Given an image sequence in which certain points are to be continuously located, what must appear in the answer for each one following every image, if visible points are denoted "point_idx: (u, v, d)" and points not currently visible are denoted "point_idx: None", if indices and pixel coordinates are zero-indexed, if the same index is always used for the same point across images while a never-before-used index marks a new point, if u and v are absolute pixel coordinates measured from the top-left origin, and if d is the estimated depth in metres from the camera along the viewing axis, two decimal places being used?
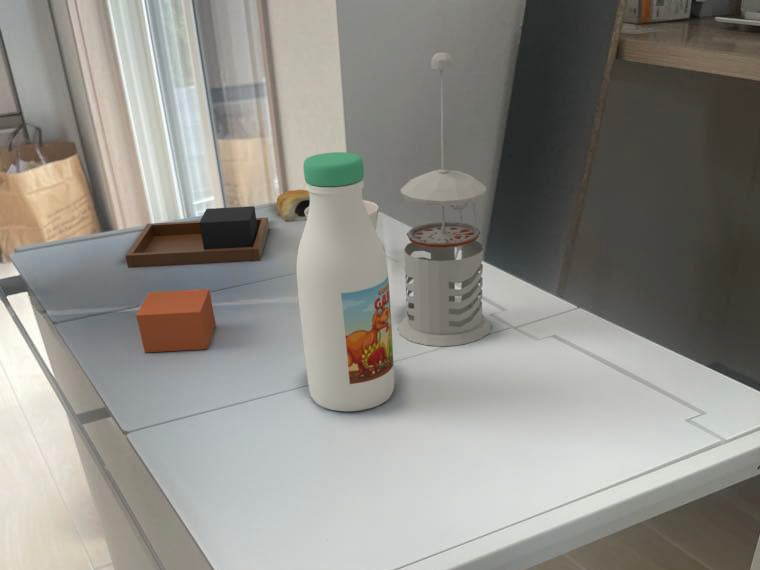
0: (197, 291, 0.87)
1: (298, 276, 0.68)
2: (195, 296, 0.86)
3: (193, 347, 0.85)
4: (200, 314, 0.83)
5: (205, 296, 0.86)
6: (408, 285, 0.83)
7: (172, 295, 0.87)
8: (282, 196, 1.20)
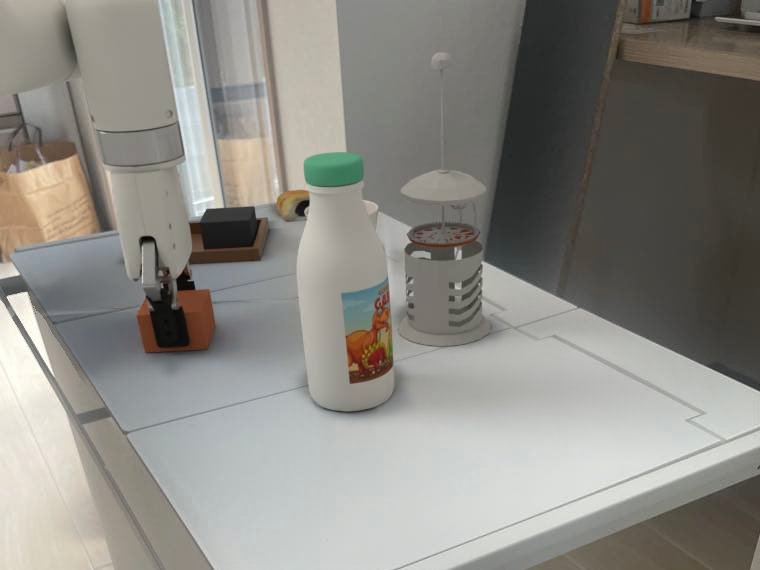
0: (197, 291, 0.87)
1: (298, 276, 0.68)
2: (195, 296, 0.86)
3: (193, 347, 0.85)
4: (200, 314, 0.83)
5: (205, 296, 0.86)
6: (408, 285, 0.83)
7: None
8: (282, 196, 1.20)
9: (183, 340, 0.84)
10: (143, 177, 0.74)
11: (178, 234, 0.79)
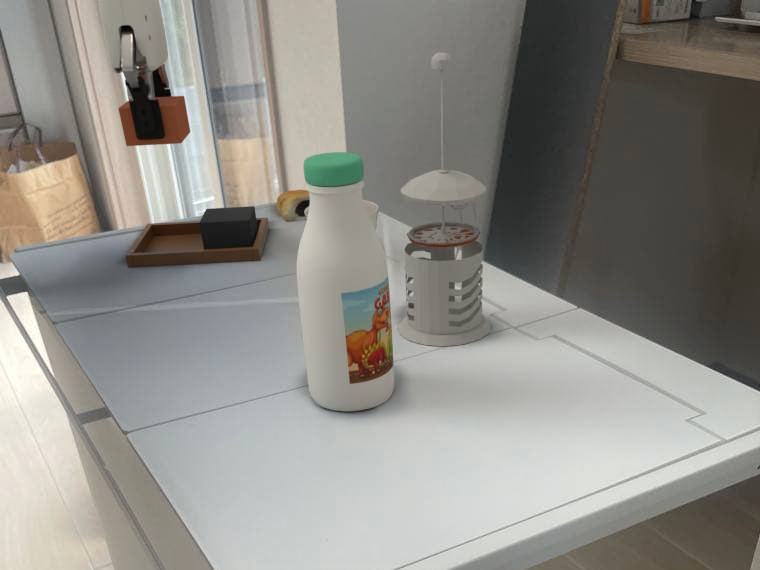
0: (173, 97, 1.00)
1: (298, 276, 0.68)
2: (171, 99, 0.98)
3: (169, 141, 0.97)
4: (174, 108, 0.95)
5: (180, 99, 0.98)
6: (408, 285, 0.83)
7: None
8: (282, 196, 1.20)
9: (159, 132, 0.96)
10: None
11: (153, 30, 0.91)
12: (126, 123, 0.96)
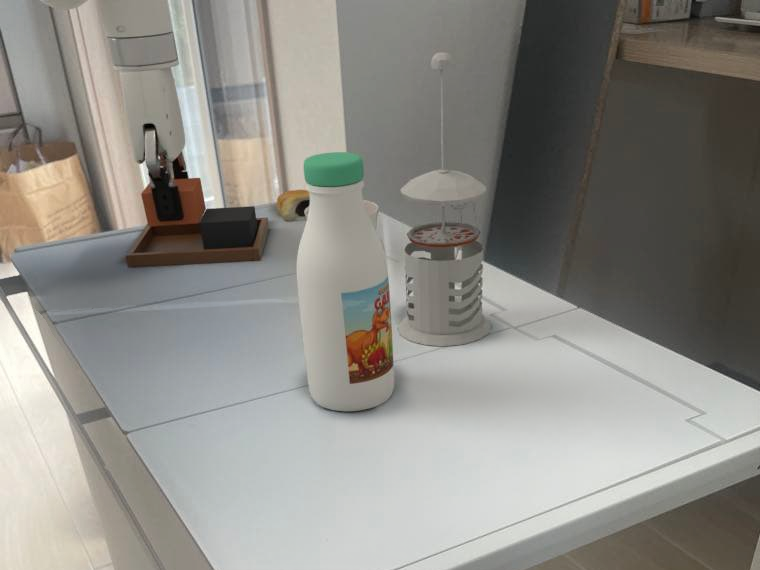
0: (190, 179, 1.08)
1: (298, 276, 0.68)
2: (188, 182, 1.07)
3: (187, 221, 1.06)
4: (192, 193, 1.04)
5: (196, 181, 1.07)
6: (408, 285, 0.83)
7: None
8: (282, 196, 1.20)
9: (178, 215, 1.05)
10: (145, 74, 0.95)
11: (173, 125, 1.00)
12: (148, 206, 1.04)
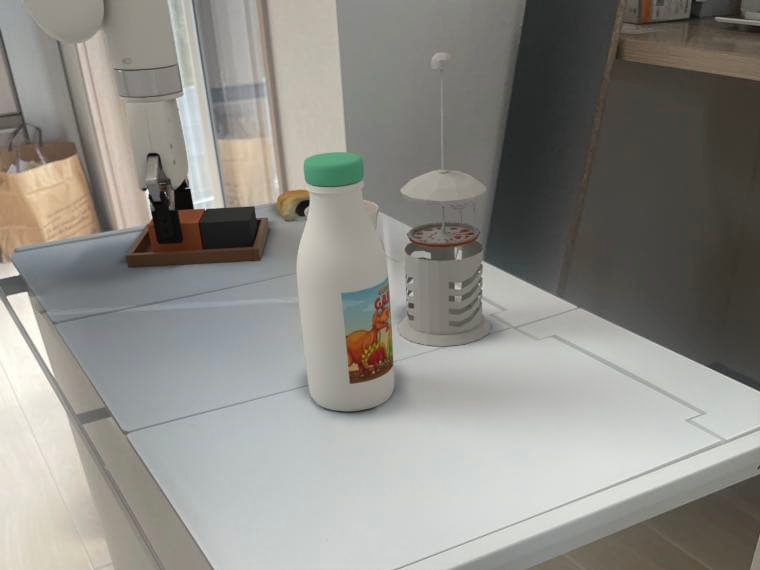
0: (195, 210, 1.10)
1: (298, 276, 0.68)
2: (193, 213, 1.09)
3: None
4: (197, 225, 1.06)
5: (202, 213, 1.09)
6: (408, 285, 0.83)
7: None
8: (282, 195, 1.20)
9: (178, 237, 1.05)
10: (150, 106, 0.97)
11: (177, 154, 1.02)
12: (154, 237, 1.07)
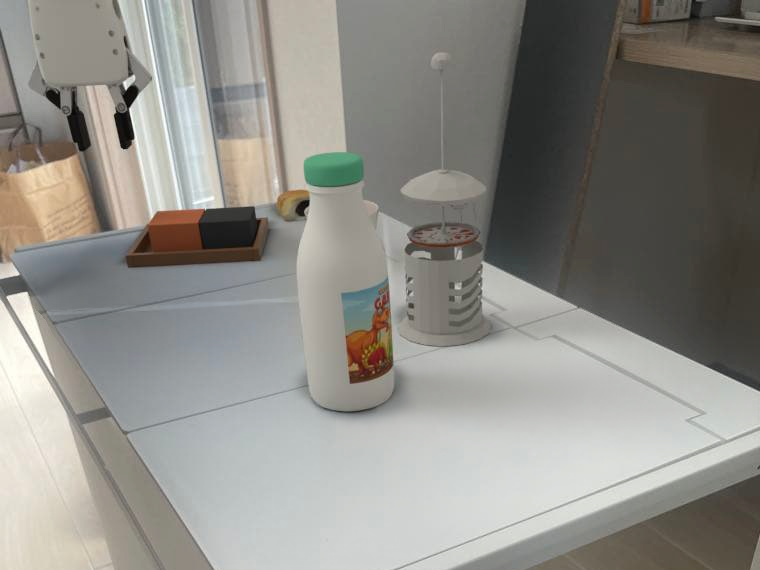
0: (195, 210, 1.10)
1: (298, 276, 0.68)
2: (193, 213, 1.09)
3: None
4: (197, 225, 1.06)
5: (202, 213, 1.09)
6: (408, 285, 0.83)
7: (175, 213, 1.10)
8: (282, 196, 1.20)
9: None
10: None
11: (56, 49, 0.95)
12: (154, 237, 1.07)
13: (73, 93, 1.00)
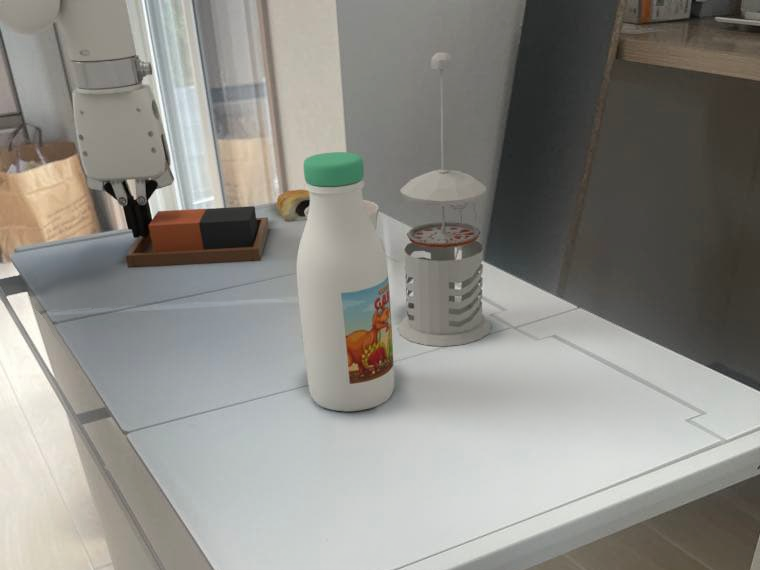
0: (196, 210, 1.10)
1: (298, 276, 0.68)
2: (194, 213, 1.09)
3: None
4: None
5: (203, 213, 1.09)
6: (408, 285, 0.83)
7: (176, 212, 1.10)
8: (282, 196, 1.20)
9: None
10: (72, 94, 0.99)
11: (98, 148, 1.01)
12: (155, 237, 1.07)
13: (124, 183, 1.06)
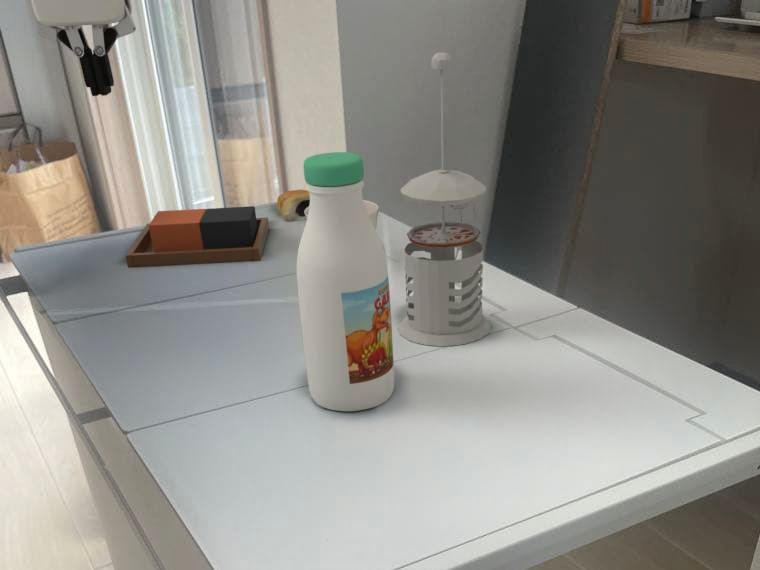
0: (196, 210, 1.10)
1: (298, 276, 0.68)
2: (194, 213, 1.09)
3: None
4: (199, 224, 1.06)
5: (203, 213, 1.09)
6: (408, 285, 0.83)
7: (176, 212, 1.10)
8: (282, 195, 1.20)
9: None
10: None
11: None
12: (155, 237, 1.07)
13: (81, 33, 0.97)
